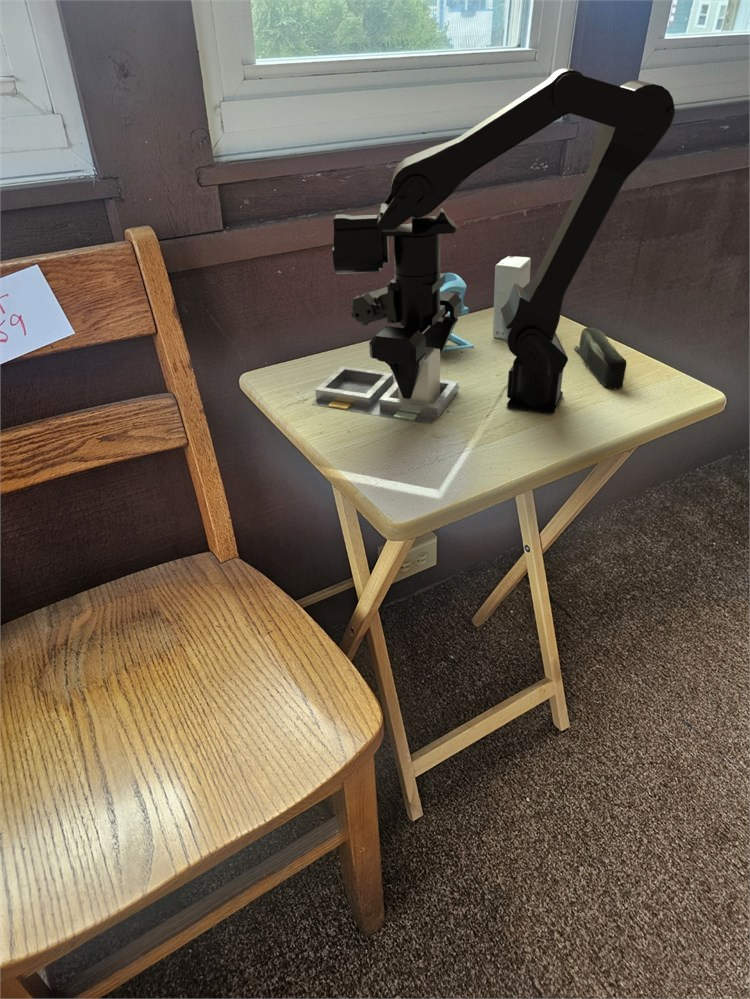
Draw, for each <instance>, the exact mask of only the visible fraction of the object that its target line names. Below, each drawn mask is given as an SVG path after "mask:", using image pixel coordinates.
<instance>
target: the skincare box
mask: <svg viewBox="0 0 750 999" xmlns="http://www.w3.org/2000/svg"><path fill="white" fill-rule="evenodd" d="M531 261H532V260H531V257H528V256H514V255H513V256H512V255H508V256H507V257H505V258H503V259H501V260H500V261H499V262H498V263H497V264H495V267H494V293H493V294H494V295H493V296H494V297H493V317H492V318H493V319H492V320H493V321H492V322H493V324H492V325H493V326H492V336H493V338H497V339H501V340H506V338H505V335H504V332H503V329H502V318H503V317H502V313H501V308H502V307H503V306H504V305H505V304H506V303H507V301H508V299H509V297H510V293H511V290H512V287H513V285H514V284H517V285H519V286H520V287H522V288H524V287H525V286H526V285H527V284H528V283H529V282H530V281H531V263H532V262H531Z"/></svg>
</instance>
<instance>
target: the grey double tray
mask: <svg viewBox="0 0 750 999" xmlns="http://www.w3.org/2000/svg"><path fill="white" fill-rule="evenodd" d="M460 388H461V387H460V385H459V381H453V380H446V379H440V396H439V397H438V398H437V400H436V401H435V402H434V404H429V403H423V402H416V401H410V400H403V399H398V384H397V382H396V379H395V376H394V374H393V372H390V371H389V372H388V371H381V370H374V369H367V368H362V367H361V368H360V367H354V366H353V367H352V366H346V365H341V366H340V367H339V368H338V369H336V370H335V371H334V372H333V373H332V374H331V375H330V376H328V377H327V378H326V379H325V380H324V381H323V382H322V383H321V384H320V385H319V386H318V387H316V388H315V389H314V390H315V399H316V400H315V401H314V402H313V403H312V404H311V406H315V407H316V406H317V407H323V408H329V409H336V410H340V411H348V412H352V413H359V414H365V415H371V416H378V417H383V418H389V419H394V420H395V419H396V420H401V421H408V422H414V423H419V424H425V425H433V423H434V422H435V420H436V419H439V418H440V416H441V414H443V412H444V411H445V409H446V408H447V406H448V405H449V404H450V403H451V401H452V400H453V399H454V398H455V396H456V395H457V393H458V392H459V389H460Z"/></svg>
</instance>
